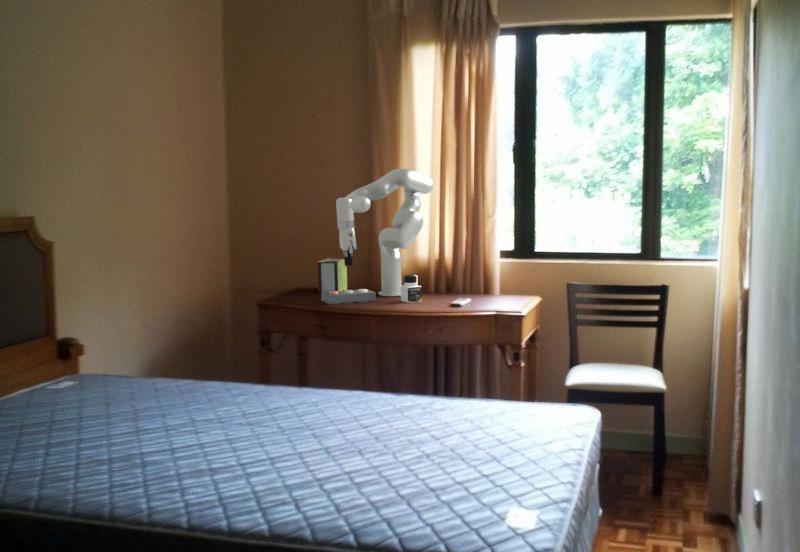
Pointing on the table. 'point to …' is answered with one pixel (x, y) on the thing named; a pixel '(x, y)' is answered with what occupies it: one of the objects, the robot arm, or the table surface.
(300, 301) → the table surface
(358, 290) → the cream button
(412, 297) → the medicine bottle
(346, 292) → the sage button
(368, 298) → the console
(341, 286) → the protein box
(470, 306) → the table surface
